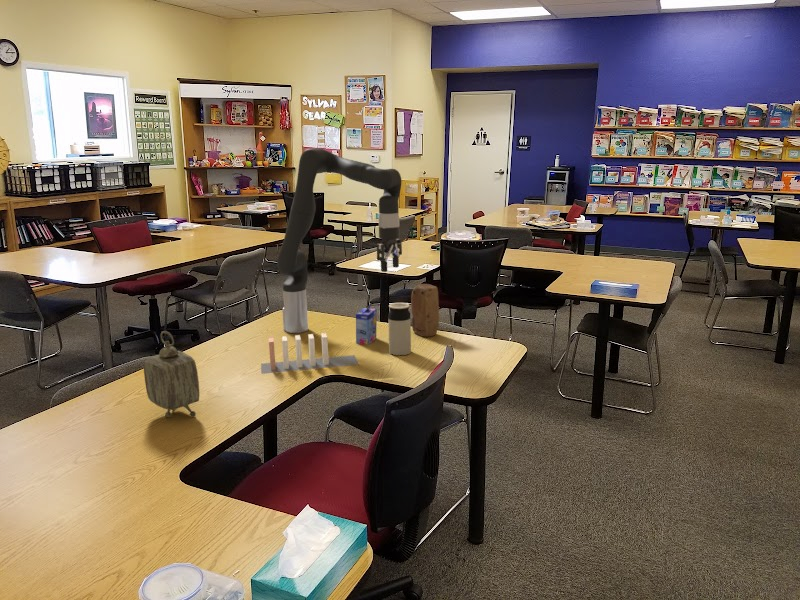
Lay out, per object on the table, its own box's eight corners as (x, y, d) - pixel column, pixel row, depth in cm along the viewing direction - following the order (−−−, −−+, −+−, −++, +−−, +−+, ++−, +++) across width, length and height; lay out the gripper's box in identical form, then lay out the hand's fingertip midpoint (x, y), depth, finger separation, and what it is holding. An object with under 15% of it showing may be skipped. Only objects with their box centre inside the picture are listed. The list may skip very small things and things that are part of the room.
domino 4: (310, 366, 214) (309, 338, 212) (309, 361, 219) (308, 334, 216) (315, 365, 214) (314, 338, 212) (314, 361, 219) (312, 334, 217)
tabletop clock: (202, 416, 177) (193, 332, 171) (172, 427, 171) (162, 340, 165) (176, 403, 187) (167, 323, 180) (147, 413, 180) (136, 330, 174)
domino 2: (284, 368, 212) (282, 340, 210) (283, 364, 217) (281, 336, 214) (289, 368, 212) (287, 340, 210) (288, 363, 217) (286, 336, 215)
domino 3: (297, 367, 213) (296, 339, 211) (296, 362, 218) (295, 335, 215) (302, 367, 213) (300, 339, 211) (301, 362, 218) (299, 335, 216)
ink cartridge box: (369, 345, 236) (368, 308, 233) (355, 344, 238) (354, 308, 234) (377, 338, 245) (376, 302, 242) (364, 337, 247) (363, 301, 243)
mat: (261, 375, 208) (261, 373, 208) (261, 365, 218) (260, 363, 218) (359, 365, 215) (359, 364, 215) (354, 356, 225) (354, 355, 225)
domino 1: (271, 370, 211) (268, 342, 209) (270, 365, 216) (268, 337, 213) (275, 369, 212) (273, 341, 209) (275, 364, 216) (273, 337, 214)
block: (440, 335, 247) (440, 286, 242) (426, 339, 243) (425, 289, 238) (423, 329, 256) (422, 281, 251) (408, 332, 251) (408, 284, 246)
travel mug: (407, 357, 223) (406, 308, 219) (386, 355, 226) (384, 307, 221) (413, 350, 230) (413, 303, 226) (393, 348, 233) (392, 301, 228)
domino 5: (324, 365, 215) (322, 337, 213) (322, 360, 220) (321, 333, 217) (328, 364, 215) (327, 337, 213) (327, 359, 220) (325, 332, 218)
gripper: (389, 222, 233) (390, 265, 237) (369, 227, 221) (371, 272, 225) (407, 223, 229) (408, 266, 233) (388, 228, 217) (389, 273, 221)
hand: (390, 269), depth 229 cm, fingers open, 8 cm apart
